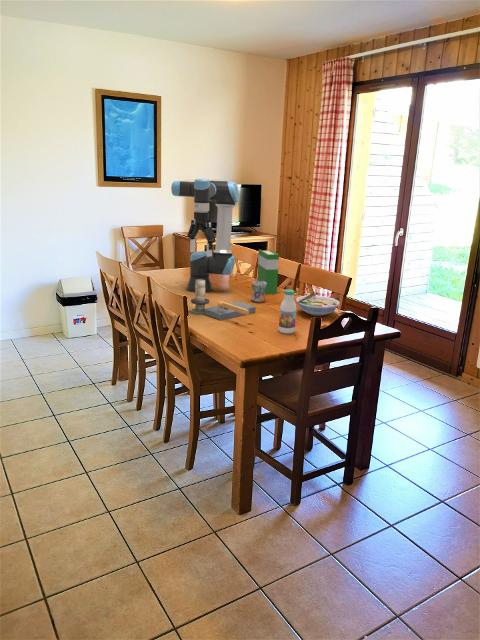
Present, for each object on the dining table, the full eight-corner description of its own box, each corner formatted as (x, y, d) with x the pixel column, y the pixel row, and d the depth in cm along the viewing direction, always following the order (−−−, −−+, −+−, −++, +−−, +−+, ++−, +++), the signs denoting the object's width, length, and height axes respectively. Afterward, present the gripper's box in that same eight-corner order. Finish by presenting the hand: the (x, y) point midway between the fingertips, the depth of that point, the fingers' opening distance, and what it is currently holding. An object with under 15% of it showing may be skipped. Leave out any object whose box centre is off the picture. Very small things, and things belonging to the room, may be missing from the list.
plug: (187, 309, 263) (187, 279, 258) (201, 306, 269) (202, 277, 264) (198, 314, 256) (198, 283, 251) (212, 311, 262) (213, 281, 257)
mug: (267, 303, 283) (268, 284, 280) (251, 303, 282) (252, 284, 279) (264, 297, 295) (264, 279, 292) (248, 297, 294) (249, 279, 290)
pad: (187, 310, 263) (187, 309, 263) (201, 308, 269) (201, 307, 269) (198, 315, 257) (198, 313, 257) (212, 312, 263) (212, 311, 262)
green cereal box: (256, 286, 319) (258, 249, 312) (267, 286, 321) (270, 249, 314) (265, 294, 303) (267, 254, 296) (276, 293, 305) (279, 254, 297)
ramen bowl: (327, 324, 251) (329, 308, 248) (286, 315, 262) (287, 300, 259) (345, 312, 271) (347, 298, 268) (306, 305, 282) (308, 291, 280)
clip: (221, 304, 256) (221, 300, 255) (250, 314, 242) (250, 309, 241) (216, 305, 253) (216, 301, 253) (245, 315, 239) (245, 311, 239)
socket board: (204, 314, 259) (204, 303, 257) (239, 306, 274) (239, 296, 272) (220, 320, 250) (220, 309, 248) (255, 312, 265) (255, 302, 263)
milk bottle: (277, 328, 241) (279, 288, 235) (293, 328, 241) (296, 288, 235) (279, 333, 233) (282, 292, 227) (296, 334, 234) (299, 292, 228)
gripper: (180, 209, 254) (180, 250, 260) (211, 214, 236) (210, 258, 243) (192, 208, 258) (192, 249, 265) (223, 213, 241) (222, 257, 247)
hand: (200, 254), depth 254 cm, fingers open, 13 cm apart
